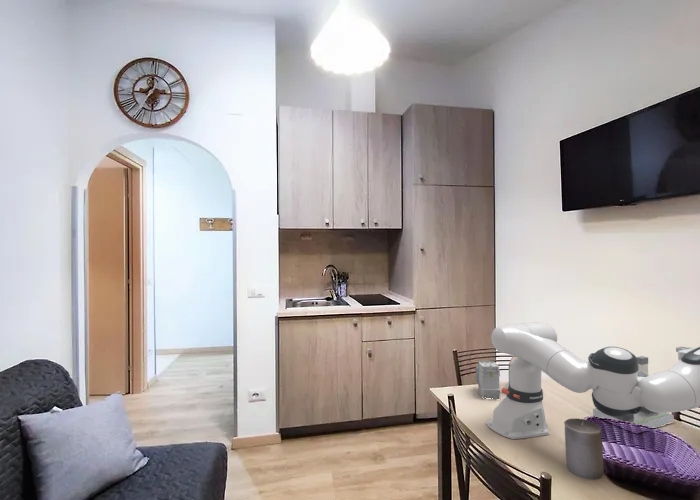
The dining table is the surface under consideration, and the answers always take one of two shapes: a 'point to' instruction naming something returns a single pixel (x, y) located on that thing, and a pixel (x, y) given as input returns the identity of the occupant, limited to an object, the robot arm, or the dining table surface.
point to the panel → (641, 417)
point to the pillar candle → (584, 448)
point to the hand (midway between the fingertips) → (678, 349)
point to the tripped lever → (643, 364)
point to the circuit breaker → (488, 379)
